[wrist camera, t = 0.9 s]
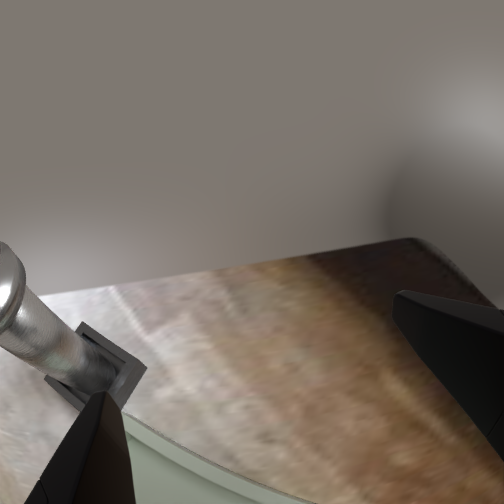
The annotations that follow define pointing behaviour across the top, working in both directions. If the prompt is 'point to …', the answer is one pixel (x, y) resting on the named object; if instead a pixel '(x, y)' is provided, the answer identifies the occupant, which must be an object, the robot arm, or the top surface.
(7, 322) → the pin
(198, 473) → the tray
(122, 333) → the top surface
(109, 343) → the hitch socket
